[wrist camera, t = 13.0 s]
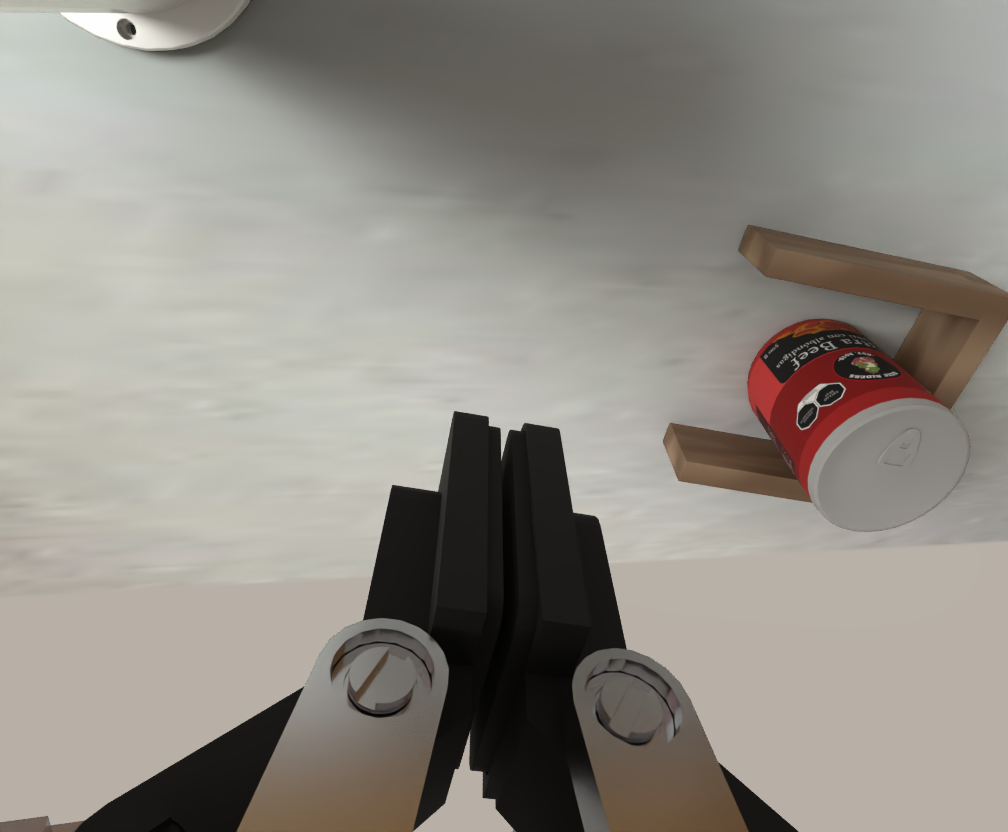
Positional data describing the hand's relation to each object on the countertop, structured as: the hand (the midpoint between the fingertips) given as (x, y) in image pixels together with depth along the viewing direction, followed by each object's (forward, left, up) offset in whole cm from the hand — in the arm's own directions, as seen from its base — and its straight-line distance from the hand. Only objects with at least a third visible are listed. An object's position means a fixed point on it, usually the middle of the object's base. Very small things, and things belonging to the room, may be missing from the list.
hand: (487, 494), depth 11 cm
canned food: (+9, +22, -29) cm, 38 cm away
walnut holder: (+8, +22, -29) cm, 37 cm away
